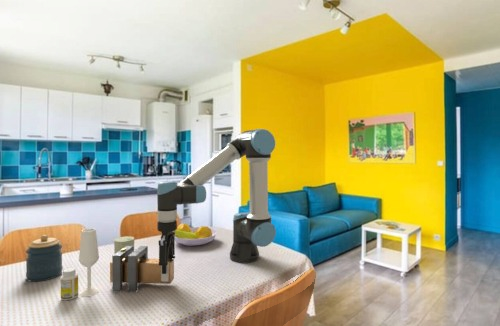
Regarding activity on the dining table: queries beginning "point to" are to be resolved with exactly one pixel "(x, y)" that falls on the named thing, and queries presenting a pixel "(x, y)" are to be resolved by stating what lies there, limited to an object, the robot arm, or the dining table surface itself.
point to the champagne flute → (88, 257)
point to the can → (123, 243)
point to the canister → (44, 259)
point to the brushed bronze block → (147, 271)
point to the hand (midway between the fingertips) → (167, 277)
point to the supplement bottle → (69, 284)
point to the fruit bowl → (194, 235)
